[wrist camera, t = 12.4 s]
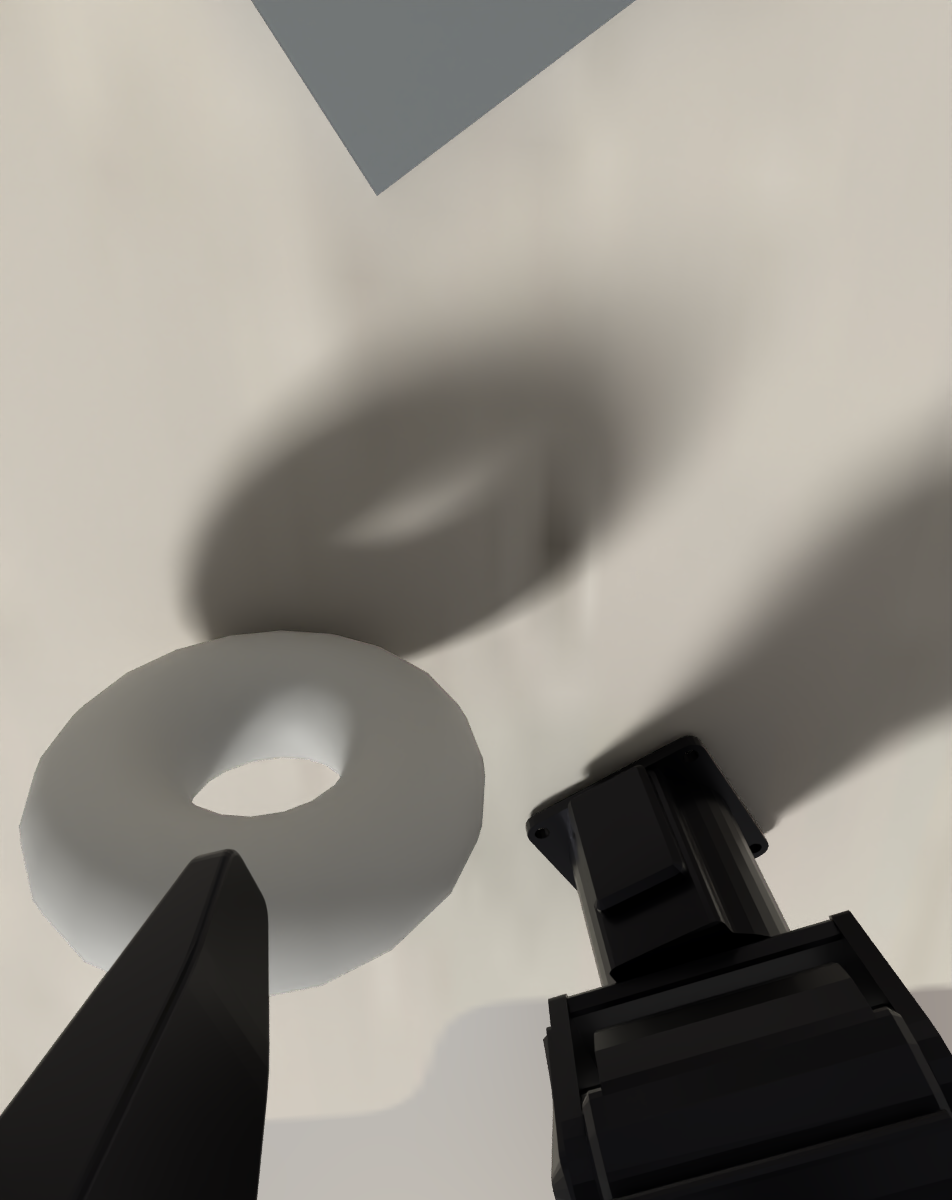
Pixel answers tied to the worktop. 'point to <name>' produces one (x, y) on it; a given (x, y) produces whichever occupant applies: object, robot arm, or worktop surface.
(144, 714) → the donut
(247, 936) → the robot arm
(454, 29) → the mat
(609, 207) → the worktop surface
